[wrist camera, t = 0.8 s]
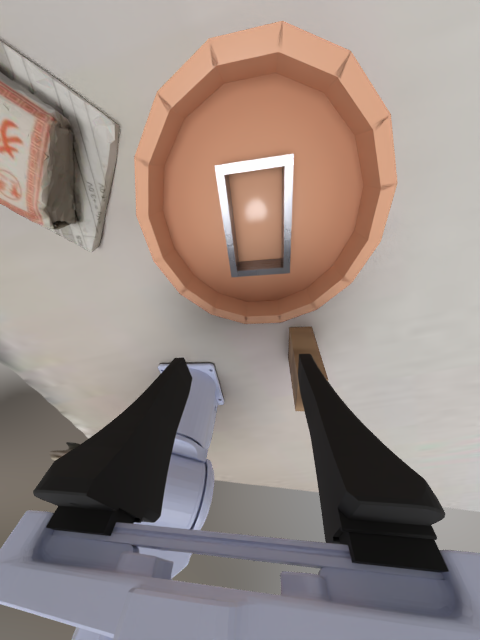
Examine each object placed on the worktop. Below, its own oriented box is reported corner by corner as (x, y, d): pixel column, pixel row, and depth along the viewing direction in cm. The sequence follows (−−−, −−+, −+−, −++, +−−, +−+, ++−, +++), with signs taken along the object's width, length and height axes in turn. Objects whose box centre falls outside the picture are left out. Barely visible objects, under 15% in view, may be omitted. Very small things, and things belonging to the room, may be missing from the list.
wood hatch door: (307, 357, 25) (320, 411, 20) (288, 358, 26) (295, 410, 20) (311, 326, 22) (328, 379, 17) (289, 327, 23) (298, 379, 17)
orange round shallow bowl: (344, 298, 20) (358, 319, 17) (189, 306, 22) (178, 326, 19) (404, 29, 10) (456, -22, 8) (120, 90, 13) (80, 69, 10)
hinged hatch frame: (287, 263, 17) (290, 273, 16) (234, 267, 18) (231, 277, 16) (289, 155, 13) (294, 153, 11) (219, 165, 14) (214, 165, 12)
